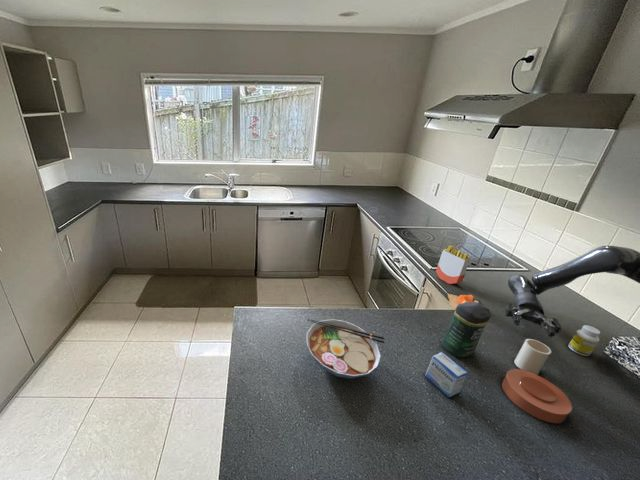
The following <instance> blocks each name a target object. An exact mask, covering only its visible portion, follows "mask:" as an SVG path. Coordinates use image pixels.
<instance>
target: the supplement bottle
mask: <svg viewBox="0 0 640 480" xmlns="http://www.w3.org/2000/svg"><path fill="white" fill-rule="evenodd" d="M600 334H601V330H599V329H598V328H596V327H594V326H592V325H587V324H585V325H583V326H582V327H581V328H580V329H577V330H576V332H575V334H574V335H573V336H572V338H571V340H570V342H569V343H568V348H569V349H570V350H571V351H572V352H574V353H576V354H578V355H580V356H585V357H589V356H590V355H592V353H593V351H594V350H595V348H596V347H597V345H598V344H599V342H600V337H599V336H600Z"/></svg>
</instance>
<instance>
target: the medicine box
mask: <svg viewBox="0 0 640 480" xmlns="http://www.w3.org/2000/svg"><path fill="white" fill-rule="evenodd" d="M468 374H469V373H468V372H467V370H465V369H464V368H463V367H461V366H460V365H459V364H457V363H456V362H455V361H454V360H453V359H451V358H450V357H449V356H448V355H446V354H445V353H444V352H439V353H436V354H435V355H433V356H432V357H431V360H430V363H429V366H428V368H427V370H426V373H425V377H426V378H427V380H429V381H430V382H431V383H432V384H433V385H435V387H437V388H438V389H439V390H440V391H441V392H442V393H443V394H444V395H446V396H447V397H448V398H451V397H453V396H455V395H457V394H459V393H460V391H461V388H462V386H463V384H464V382H465V380H466V378H467V376H468Z"/></svg>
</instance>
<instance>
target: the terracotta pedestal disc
mask: <svg viewBox="0 0 640 480" xmlns="http://www.w3.org/2000/svg"><path fill="white" fill-rule="evenodd" d="M501 387H502V390H503V392H504V394H505V395H506V396H507V397H508V399H510V401H511V402H512V403H514V404H515V406H517V407H518V408H519V409H520V410H522V411H524V412H525V413H527V414H528V415H530V416H532V417H534V418H536V419H538V420H541V421H544V422H547V423H552V424H561V423H564V422H565V421H566V420H567V418H568V417H569V415H570V414H571V413H572V411H573V406H572V405H573V404H572V403H571V401H570V399H569V398H568V396H567V395H566V394H565V393H564V391H563V390H561V389H560V388H559V387H558V386H556V385H555V384H554V383H553V382H551V381H549V380H548V379H546V378H544V377H542V376H540V375H539V374H537V375H536V374H534V373H531V372H528V371H525V370H521V369H520V368H513V369H510V370H509V369H508V371H507V372H506V374H505V375H504V378H503V379H502V382H501Z"/></svg>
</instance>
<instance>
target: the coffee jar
mask: <svg viewBox="0 0 640 480" xmlns="http://www.w3.org/2000/svg"><path fill="white" fill-rule="evenodd" d="M478 302H479V301H478ZM478 302H466V303H461V304H458V306H457V307H456V309H454V313H453V317H452V320H451V322H450V324H449V326H448V328H447V330H446V333H445V334H444V336H443V338H442V340H441V345H442V346H443V347H444V349H445V350H447V352H448V353H450V354H451V355H453V356H456V357H458V358H464V357H465V358H466V357H469V356H471V355H473V354H474V353H475V351H476V349H477V347H478V343H479V341H480V339H481V336H482V333H483V332H484V330H485V328H486V326H487V325H488V323H489V322H490V319H491V317H492V313H491V311H490V309H489V308H487V307H486V306H485V305H483V304H481V303H480V302H479V303H478Z"/></svg>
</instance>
